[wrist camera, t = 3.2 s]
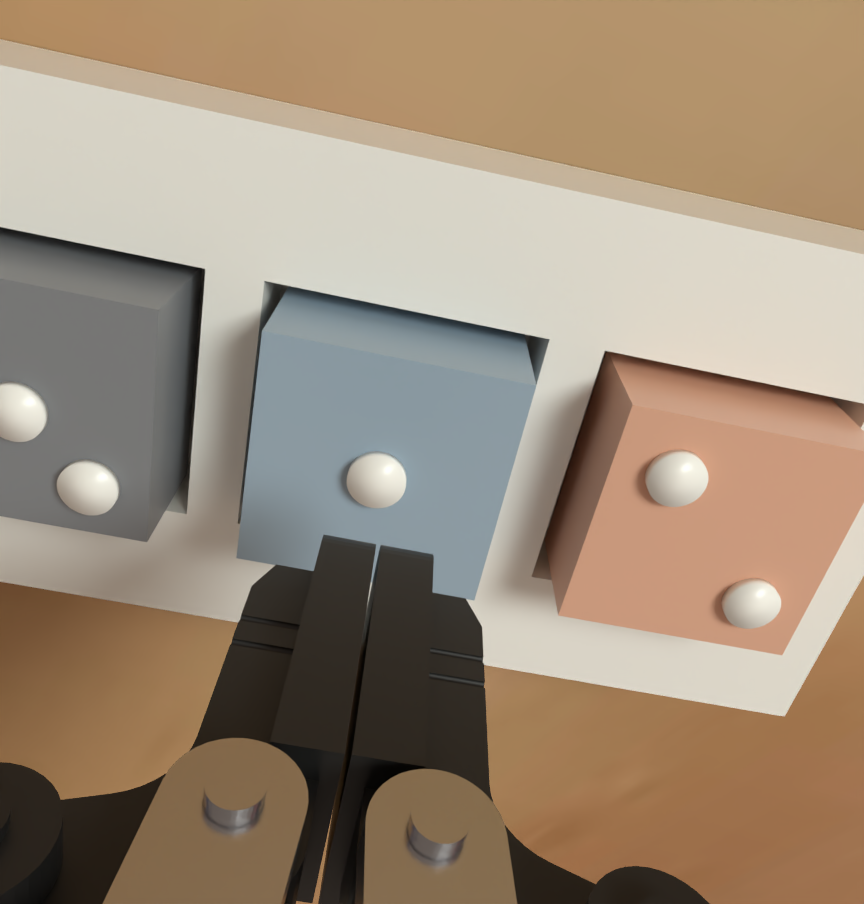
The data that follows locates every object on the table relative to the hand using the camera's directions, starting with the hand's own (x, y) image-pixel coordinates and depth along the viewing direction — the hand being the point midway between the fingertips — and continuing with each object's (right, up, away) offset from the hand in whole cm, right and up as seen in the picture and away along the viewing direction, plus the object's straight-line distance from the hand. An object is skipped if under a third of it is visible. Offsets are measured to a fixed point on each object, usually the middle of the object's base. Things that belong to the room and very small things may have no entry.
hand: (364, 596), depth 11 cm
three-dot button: (-6, +4, +4) cm, 8 cm away
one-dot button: (0, +3, +5) cm, 6 cm away
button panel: (0, +4, +7) cm, 8 cm away
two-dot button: (+6, +2, +5) cm, 8 cm away
